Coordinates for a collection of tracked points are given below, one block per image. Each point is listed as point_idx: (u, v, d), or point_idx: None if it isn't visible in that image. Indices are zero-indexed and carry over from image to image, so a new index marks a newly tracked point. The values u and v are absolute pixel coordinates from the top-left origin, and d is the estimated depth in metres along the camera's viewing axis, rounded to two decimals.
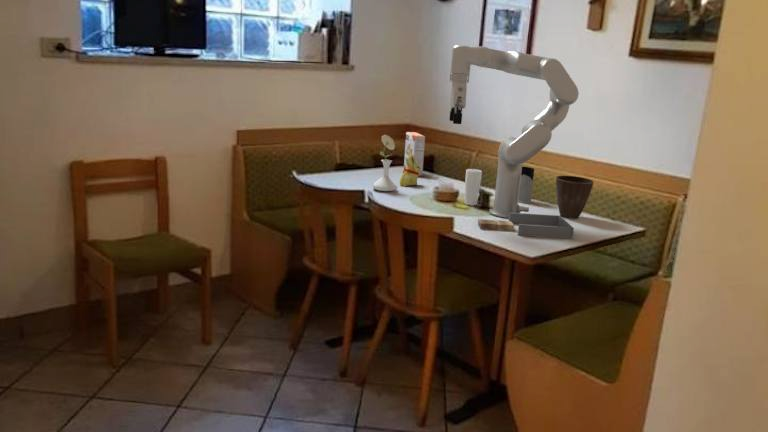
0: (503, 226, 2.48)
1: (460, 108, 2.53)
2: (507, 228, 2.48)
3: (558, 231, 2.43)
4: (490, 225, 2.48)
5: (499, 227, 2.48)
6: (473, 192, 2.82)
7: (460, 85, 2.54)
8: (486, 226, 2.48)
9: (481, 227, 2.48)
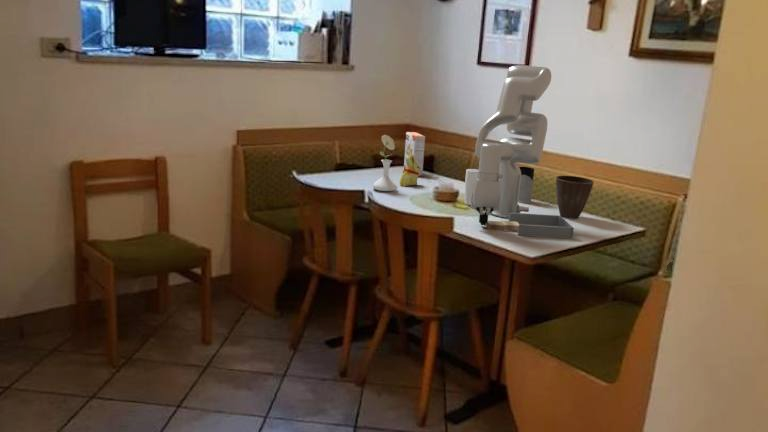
0: (509, 226, 2.48)
1: None
2: (513, 228, 2.48)
3: (558, 231, 2.43)
4: (498, 226, 2.48)
5: (505, 227, 2.48)
6: None
7: None
8: (494, 227, 2.48)
9: (489, 228, 2.48)
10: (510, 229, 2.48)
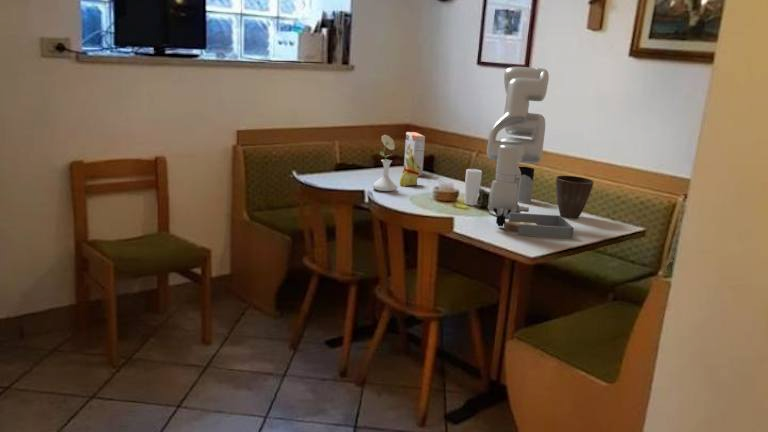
0: None
1: None
2: None
3: (558, 231, 2.43)
4: (516, 227, 2.47)
5: None
6: (473, 192, 2.82)
7: None
8: (511, 228, 2.47)
9: (506, 229, 2.47)
10: None
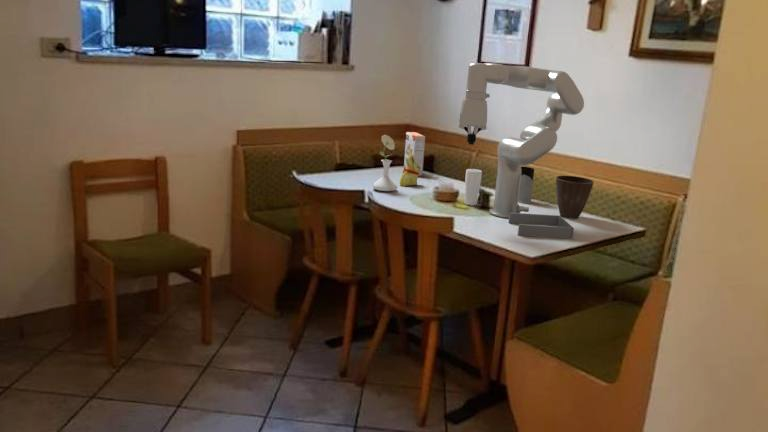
0: None
1: None
2: None
3: (558, 231, 2.43)
4: None
5: None
6: (473, 192, 2.82)
7: None
8: None
9: None
10: None
